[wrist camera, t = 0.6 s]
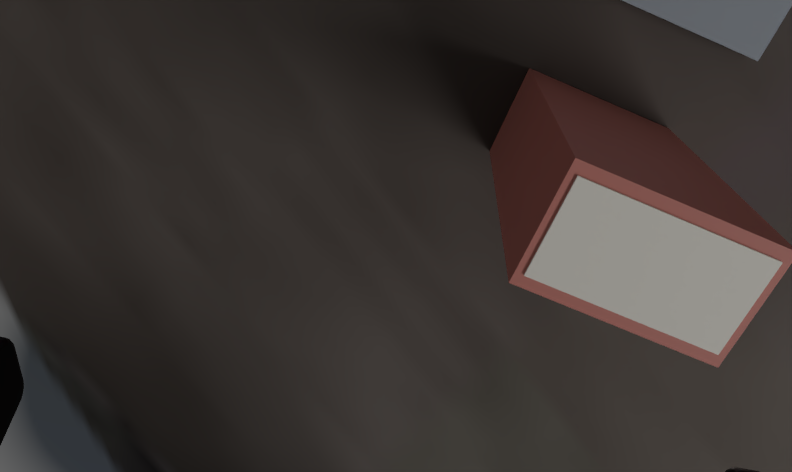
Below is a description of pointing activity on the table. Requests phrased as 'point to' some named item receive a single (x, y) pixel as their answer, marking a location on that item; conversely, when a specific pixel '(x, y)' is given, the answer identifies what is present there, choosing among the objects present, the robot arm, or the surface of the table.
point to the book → (628, 222)
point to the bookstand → (724, 20)
